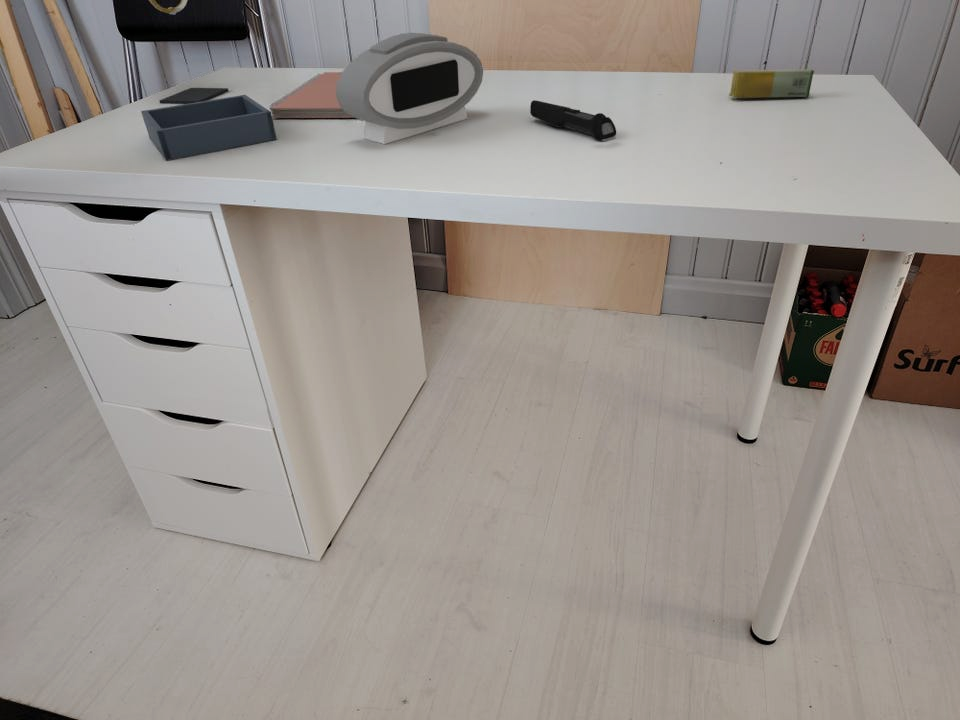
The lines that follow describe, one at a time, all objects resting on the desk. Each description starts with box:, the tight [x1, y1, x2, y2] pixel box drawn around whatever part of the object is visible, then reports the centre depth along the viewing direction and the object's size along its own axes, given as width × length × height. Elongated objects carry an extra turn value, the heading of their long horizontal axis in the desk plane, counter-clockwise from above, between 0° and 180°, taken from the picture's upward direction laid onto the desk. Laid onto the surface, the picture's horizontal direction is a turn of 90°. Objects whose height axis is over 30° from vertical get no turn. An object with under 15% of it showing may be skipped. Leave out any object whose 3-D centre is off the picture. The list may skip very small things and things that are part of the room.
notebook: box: [269, 71, 356, 119], centre depth 114 cm, size 27×17×2 cm, turn 173°
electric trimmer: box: [529, 99, 617, 142], centre depth 94 cm, size 4×16×3 cm, turn 38°
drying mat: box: [158, 87, 229, 105], centre depth 120 cm, size 10×8×1 cm
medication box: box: [728, 68, 815, 99], centre depth 103 cm, size 12×3×4 cm, turn 89°
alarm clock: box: [336, 32, 484, 145], centre depth 94 cm, size 23×6×13 cm, turn 136°
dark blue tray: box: [140, 94, 277, 162], centre depth 96 cm, size 16×14×4 cm
